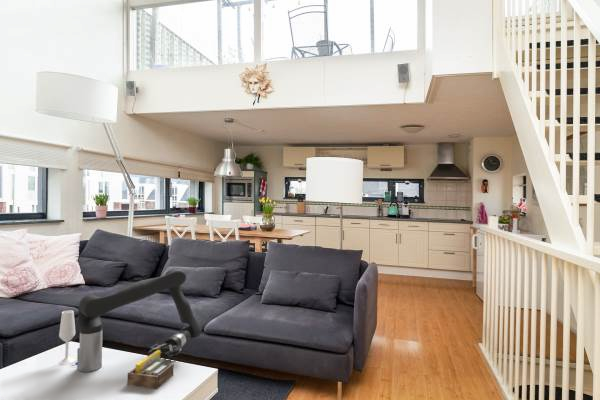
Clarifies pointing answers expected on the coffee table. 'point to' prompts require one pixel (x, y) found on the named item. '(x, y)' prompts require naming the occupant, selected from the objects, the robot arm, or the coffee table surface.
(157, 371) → the slate offcut
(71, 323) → the champagne flute
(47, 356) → the coffee table surface
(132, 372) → the offcut rack
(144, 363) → the candy box
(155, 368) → the sage offcut
